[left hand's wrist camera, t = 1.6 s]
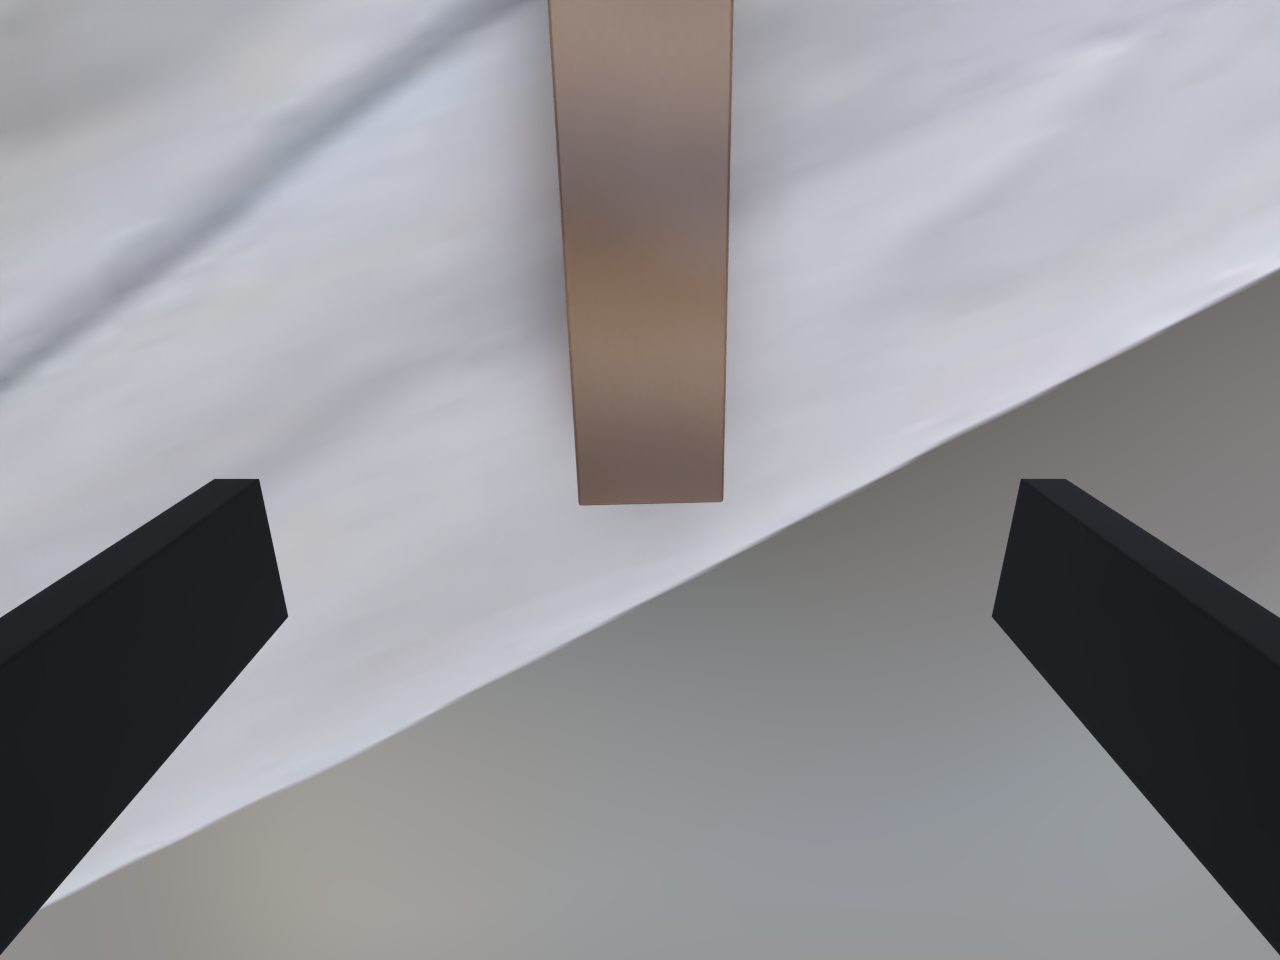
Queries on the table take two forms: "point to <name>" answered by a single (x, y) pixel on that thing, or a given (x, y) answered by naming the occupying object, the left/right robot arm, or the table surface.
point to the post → (645, 241)
